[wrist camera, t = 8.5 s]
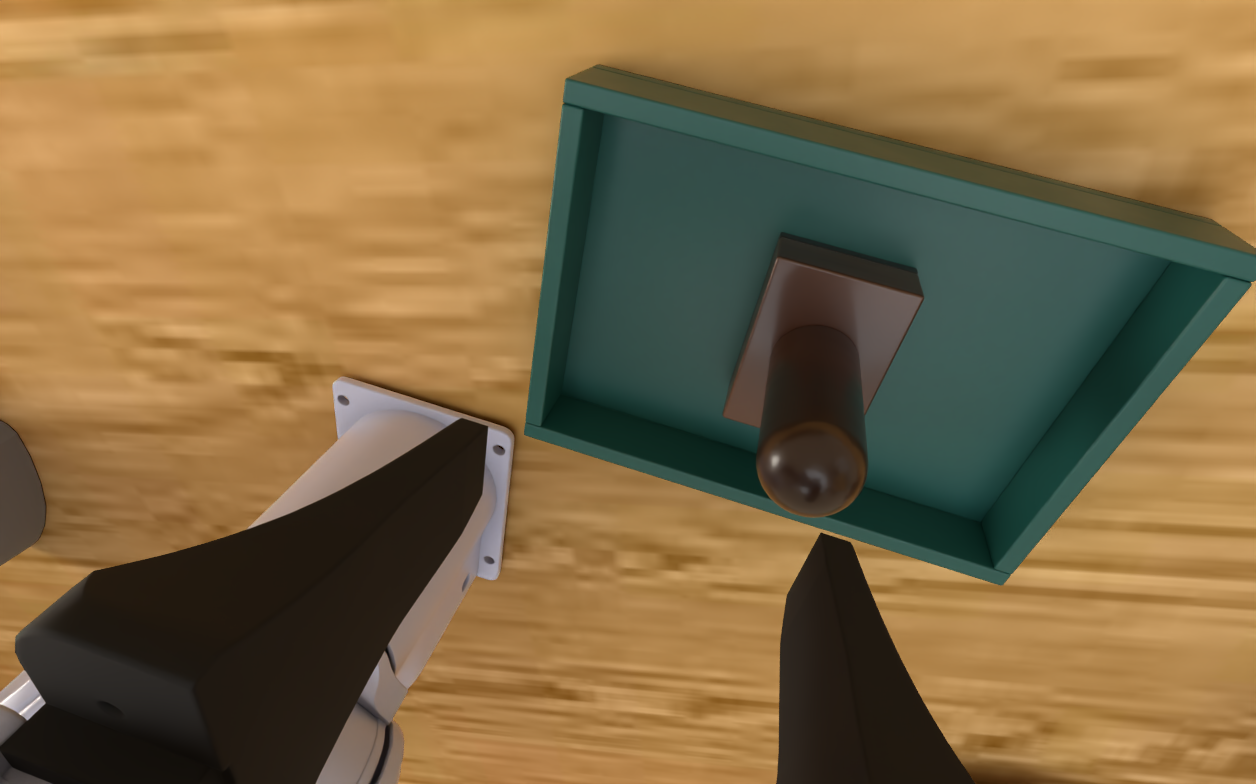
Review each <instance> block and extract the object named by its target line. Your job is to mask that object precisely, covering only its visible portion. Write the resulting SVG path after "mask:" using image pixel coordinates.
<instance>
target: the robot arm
mask: <svg viewBox="0 0 1256 784" xmlns="http://www.w3.org/2000/svg"><path fill="white" fill-rule="evenodd" d="M333 397H334V407H335V416H336V426H337V436H338V440H337V441H336V442H335V443H334V444H333V445H332V446H331V447H330V448H329V449H328V450H327V451H326V452H325V453H324V454H323V455H322V456H321V457H320V458H319V459H318V460H317V461H316V462H315V463H314V464H313V465H312V466H311V467H310V468H309V469H308V470H307V471H306V472H305V473H304V474H303V475H302V476H301V477H300V478H299V479H298V480H296V481H295V482H294V483H293V484H292V485H291V486H290V487H289V488H288V489H287V490H286V491H285V492H284V493H283V494H282V495H281V496H280V497H279V498H278V499H277V500H276V501H275V502H274V503H273V504H272V505H271V506H270V507H269V508H268V509H267V510H266V511H265V512H264V513H263V514H262V515H261V516H260V517H259V518H258V519H257V520H256V521H255V522H254V523H253V524H252V525H250V526H249V527H248V528H247V529H246V530H244V531H241V532H239V533H236V534H233V535H230V536H227V537H224V538H220V539H217V540H214V541H211V542H208V543H204V544H201V545H197V546H194V547H191V548H187V549H184V550H180V551H177V552H173V553H169V554H165V555H161V556H157V557H153V558H149V559H145V560H140V561H136V562H132V563H127V564H123V565H119V566H115V567H110V568H106V569H101V570H96V571H93V572H92V573H91V574H89V575H88V576H87V577H85V578H84V579H83V580H82V581H80V582H79V583H78V584H76V585H75V586H74V587H73V588H71V589H70V590H69V591H68V592H67V593H65V594H64V595H63V596H62V597H61V598H59V599H58V600H57V601H56V602H55V603H53V604H52V605H51V606H50V607H49V608H48V609H46V610H45V611H44V612H43V613H42V614H40V615H39V616H38V617H37V618H36V619H34V620H33V621H32V622H31V623H30V624H28V625H27V626H26V627H25V628H24V629H23V630H21V631H20V632H19V634H18V635H17V636H16V639H15V653H16V655H17V657H18V659H19V661H20V663H21V665H22V666H23V668H24V671H23V672H21V673H20V674H19V675H18V676H17V677H16V678H15V679H14V680H13V681H12V682H10V683H9V684H8V685H7V686H6V687H5V688H4V689H3V690H2V691H1V692H0V784H398V781H399V777H400V771H401V764H402V759H403V752H404V737H403V732H402V730H401V728H400V726H399V725H398V724H397V723H396V722H395V721H393V720H392V719H393V717H394V715H395V714H396V712H397V710H398V708H399V707H400V705H401V703H402V701H403V700H404V698H405V696H406V694H407V693H408V690H407V689H408V688H409V687H410V686H411V685H412V684H413V683H414V681H415V680H416V679H417V678H418V676H419V675H420V673H421V672H422V670H423V668H424V667H425V665H426V663H427V661H428V660H429V658H430V656H431V654H432V652H433V651H434V649H435V647H436V645H437V644H438V642H439V640H440V638H441V637H442V635H443V633H444V631H445V630H446V628H447V626H448V624H449V623H450V621H451V619H452V617H453V616H454V614H455V612H456V610H457V609H458V607H459V605H460V603H461V602H462V600H463V598H464V596H465V595H466V593H467V591H468V589H469V588H470V586H471V584H472V582H473V581H474V579H475V577H476V576H479V577H482V578H485V579H488V580H495V579H497V578H498V576H499V574H500V572H501V563H502V553H503V544H504V535H505V525H506V516H507V506H508V497H509V488H510V478H511V469H512V459H513V450H514V440H515V439H514V435H513V433H512V432H511V431H510V430H509V429H508V428H506V427H504V426H501V425H497V424H494V423H491V422H488V421H485V420H482V419H478V418H475V417H472V416H469V415H466V414H463V413H459V412H456V411H453V410H450V409H447V408H444V407H440V406H437V405H434V404H431V403H428V402H425V401H421V400H418V399H415V398H412V397H409V396H405V395H402V394H399V393H396V392H393V391H390V390H386V389H383V388H380V387H377V386H374V385H371V384H367V383H364V382H361V381H358V380H355V379H352V378H348V377H343V376H342V377H339V378H338V379H337V380H336V381H335V382H334V383H333ZM345 397H346V398H347V399H346V398H345ZM498 445H500V446H502V447H503V448H504V449H501V448H499V446H498ZM776 784H976V783H975V782H974V781H973V779H972V778H971V776H970V775H969V773H968V772H967V771H966V769H965V768H964V766H963V765H962V764H961V762H960V760H959V759H958V757H957V756H956V754H955V753H954V751H953V750H952V748H951V747H950V745H949V744H948V742H947V741H946V739H945V737H944V736H943V734H942V732H941V731H940V729H939V727H938V726H937V724H936V722H935V721H934V719H933V718H932V716H931V714H930V713H929V711H928V709H927V707H926V706H925V704H924V702H923V700H922V698H921V697H920V695H919V693H918V691H917V689H916V687H915V685H914V683H913V682H912V680H911V678H910V676H909V674H908V672H907V670H906V668H905V666H904V664H903V662H902V660H901V658H900V656H899V654H898V652H897V650H896V648H895V646H894V643H893V641H892V639H891V637H890V635H889V633H888V630H887V628H886V626H885V624H884V622H883V619H882V617H881V615H880V613H879V610H878V608H877V606H876V603H875V601H874V598H873V596H872V594H871V591H870V589H869V586H868V584H867V581H866V579H865V576H864V574H863V571H862V569H861V566H860V563H859V561H858V558H857V556H856V553H855V551H854V548H853V546H852V544H851V542H848V541H845V540H842V539H839V538H836V537H833V536H829V535H826V534H823V533H820V535H819V537H818V539H817V541H816V542H815V544H814V546H813V548H812V550H811V552H810V554H809V555H808V557H807V559H806V561H805V563H804V565H803V566H802V568H801V570H800V572H799V574H798V576H797V578H796V579H795V581H794V583H793V585H792V587H791V589H790V591H789V592H788V594H787V598H786V605H785V612H784V619H783V626H782V634H781V642H780V693H779V756H778V774H777V783H776Z"/></svg>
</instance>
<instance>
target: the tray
mask: <svg viewBox="0 0 1256 784" xmlns="http://www.w3.org/2000/svg"><path fill="white" fill-rule="evenodd" d="M563 102H564V104H563V105H562V112H561V121H560V129H559V138H558V147H557V155H556V164H555V172H554V181H553V189H552V198H551V207H550V215H549V224H548V232H547V241H546V249H545V258H544V267H543V275H542V284H541V292H540V301H539V309H538V318H537V327H536V335H535V344H534V352H533V361H532V369H531V378H530V387H529V395H528V404H527V412H526V423H525V429H524V435H526V436H529V437H532V438H535V439H538V440H542V441H545V442H548V443H551V444H554V445H557V446H561V447H564V448H567V449H570V450H573V451H576V452H580V453H583V454H586V455H589V456H592V457H595V458H599V459H602V460H605V461H608V462H611V463H614V464H618V465H621V466H624V467H627V468H630V469H633V470H637V471H640V472H643V473H646V474H649V475H652V476H656V477H659V478H662V479H665V480H668V481H671V482H675V483H678V484H681V485H684V486H687V487H690V488H694V489H697V490H700V491H703V492H706V493H709V494H713V495H716V496H719V497H722V498H725V499H728V500H732V501H735V502H738V503H741V504H744V505H747V506H751V507H754V508H757V509H760V510H763V511H766V512H770V513H773V514H776V515H779V516H782V517H785V518H789V519H792V520H795V521H798V522H801V523H804V524H808V525H811V526H814V527H817V528H820V529H823V530H827V531H830V532H833V533H836V534H839V535H842V536H846V537H849V538H852V539H855V540H858V541H861V542H865V543H868V544H871V545H874V546H877V547H880V548H884V549H887V550H890V551H893V552H896V553H899V554H903V555H906V556H909V557H912V558H915V559H918V560H922V561H925V562H928V563H931V564H934V565H937V566H941V567H944V568H947V569H950V570H953V571H956V572H960V573H963V574H966V575H969V576H972V577H975V578H979V579H982V580H985V581H988V582H991V583H994V584H998V585H1003V584H1004V583H1005V582H1006V581H1007V579H1008V578H1009V577H1010V575H1011V574H1012V573H1013V572H1014V571H1015V570H1016V569H1017V567H1018V566H1019V565H1020V564H1021V563H1022V561H1023V560H1024V559H1025V558H1026V556H1027V555H1028V554H1029V553H1030V552H1031V550H1032V549H1033V548H1034V547H1035V546H1036V544H1037V543H1038V542H1039V541H1040V540H1041V538H1042V537H1043V536H1044V535H1045V534H1046V532H1047V531H1048V530H1049V529H1050V528H1051V526H1052V525H1053V524H1054V523H1055V522H1056V520H1057V519H1058V518H1059V517H1060V516H1061V514H1062V513H1063V512H1064V511H1065V510H1066V508H1067V507H1068V506H1069V505H1070V504H1071V502H1072V501H1073V500H1074V499H1075V497H1076V496H1077V495H1078V494H1079V493H1080V491H1081V490H1082V489H1083V488H1084V487H1085V485H1086V484H1087V483H1088V482H1089V481H1090V479H1091V478H1092V477H1093V476H1094V475H1095V473H1096V472H1097V471H1098V470H1099V469H1100V467H1101V466H1102V465H1103V464H1104V463H1105V461H1106V460H1107V459H1108V458H1109V457H1110V455H1111V454H1112V453H1113V452H1114V451H1115V449H1116V448H1117V447H1118V446H1119V444H1120V443H1121V442H1122V441H1123V440H1124V438H1125V437H1126V436H1127V435H1128V434H1129V432H1130V431H1131V430H1132V429H1133V428H1134V426H1135V425H1136V424H1137V423H1138V422H1139V420H1140V419H1141V418H1142V417H1143V416H1144V414H1145V413H1146V412H1147V411H1148V410H1149V408H1150V407H1151V406H1152V405H1153V404H1154V402H1155V401H1156V400H1157V399H1158V398H1159V396H1160V395H1161V394H1162V393H1163V391H1164V390H1165V389H1166V388H1167V387H1168V385H1169V384H1170V383H1171V382H1172V381H1173V379H1174V378H1175V377H1176V376H1177V375H1178V373H1179V372H1180V371H1181V370H1182V369H1183V367H1184V366H1185V365H1186V364H1187V363H1188V361H1189V360H1190V359H1191V358H1192V357H1193V355H1194V354H1195V353H1196V352H1197V351H1198V349H1199V348H1200V347H1201V346H1202V345H1203V343H1204V342H1205V341H1206V340H1207V339H1208V337H1209V336H1210V335H1211V334H1212V332H1213V331H1214V330H1215V329H1216V328H1217V326H1218V325H1219V324H1220V323H1221V322H1222V320H1223V319H1224V318H1225V317H1226V316H1227V314H1228V313H1229V312H1230V311H1231V310H1232V308H1233V307H1234V306H1235V305H1236V304H1237V302H1238V301H1239V300H1240V299H1241V298H1242V296H1243V295H1244V294H1245V293H1246V292H1247V290H1248V289H1249V288H1250V287H1251V285H1252V283H1251V282H1254V281H1256V248H1254V247H1253V246H1251V245H1250V244H1248V243H1247V242H1245V241H1244V240H1242V239H1241V238H1239V237H1238V236H1236V235H1235V234H1233V233H1232V232H1230V231H1229V230H1227V229H1226V228H1224V227H1222V226H1221V225H1220V224H1218V223H1217V222H1215V221H1214V220H1212V219H1208V218H1204V217H1200V216H1196V215H1192V214H1188V213H1184V212H1180V211H1176V210H1172V209H1168V208H1164V207H1160V206H1156V205H1153V204H1149V203H1145V202H1141V201H1137V200H1133V199H1129V198H1125V197H1121V196H1117V195H1113V194H1109V193H1105V192H1101V191H1097V190H1093V189H1089V188H1085V187H1081V186H1077V185H1073V184H1069V183H1065V182H1062V181H1058V180H1054V179H1050V178H1046V177H1042V176H1038V175H1034V174H1030V173H1026V172H1022V171H1018V170H1014V169H1010V168H1006V167H1002V166H998V165H994V164H990V163H986V162H982V161H978V160H974V159H971V158H967V157H963V156H959V155H955V154H951V153H947V152H943V151H939V150H935V149H931V148H927V147H923V146H919V145H915V144H911V143H907V142H903V141H899V140H895V139H891V138H887V137H883V136H879V135H876V134H872V133H868V132H864V131H860V130H856V129H852V128H848V127H844V126H840V125H836V124H832V123H828V122H824V121H820V120H816V119H812V118H808V117H804V116H800V115H796V114H792V113H788V112H785V111H781V110H777V109H773V108H769V107H765V106H761V105H757V104H753V103H749V102H745V101H741V100H737V99H733V98H729V97H725V96H721V95H717V94H713V93H709V92H705V91H701V90H697V89H694V88H690V87H686V86H682V85H678V84H674V83H670V82H666V81H662V80H658V79H654V78H650V77H646V76H642V75H638V74H634V73H630V72H626V71H622V70H618V69H614V68H610V67H606V66H603V65H595V66H593V67H591V68H589V69H586V70H584V71H582V72H580V73H578V74H575V75H573V76H571V77H569V78H566V80H565V87H564V95H563ZM781 232H784V233H787V234H791V235H795V236H798V237H802V238H806V239H810V240H813V241H817V242H821V243H824V244H828V245H832V246H835V247H839V248H843V249H846V250H850V251H854V252H857V253H861V254H865V255H868V256H872V257H876V258H880V259H883V260H887V261H891V262H894V263H898V264H902V265H905V266H909V267H913V268H916V269H917V271H918V277H919V280H920V284H921V287H922V290H923V294H924V300H923V302H922V304H921V306H920V308H919V310H918V312H917V314H916V316H915V318H914V320H913V322H912V324H911V326H910V328H909V330H908V332H907V334H906V336H905V338H904V340H903V342H902V344H901V346H900V348H899V350H898V352H897V354H896V356H895V358H894V360H893V361H892V363H891V365H890V367H889V369H888V371H887V373H886V375H885V377H884V379H883V381H882V383H881V385H880V387H879V389H878V391H877V393H876V395H875V397H874V399H873V401H872V403H871V405H870V407H869V409H868V411H867V413H866V415H865V428H866V440H867V451H868V474H867V478H866V482H865V485H864V487H863V489H862V491H861V492H860V494H859V495H858V497H857V498H856V499H855V500H854V501H853V502H852V503H851V504H850V505H849V506H848V507H846V508H844V509H843V510H841V511H840V512H837V513H835V514H832V515H829V516H825V517H815V518H812V517H803V516H799V515H795V514H793V513H790V512H788V511H786V510H784V509H783V508H781V507H780V506H778V505H777V504H776V503H775V502H774V501H773V500H772V499H771V498H770V497H769V496H768V495H767V493H766V492H765V491H764V489H763V487H762V485H761V483H760V480H759V478H758V473H757V468H756V455H757V448H758V440H759V433H760V428H757V427H754V426H750V425H747V424H744V423H740V422H737V421H734V420H731V419H727V418H724V417H723V409H724V405H725V401H726V396H727V392H728V387H729V383H730V380H731V377H732V374H733V371H734V368H735V365H736V363H737V360H738V357H739V354H740V351H741V348H742V345H743V342H744V339H745V336H746V333H747V330H748V327H749V324H750V321H751V318H752V315H753V312H754V309H755V306H756V304H757V301H758V298H759V295H760V292H761V289H762V286H763V283H764V280H765V277H766V274H767V271H768V268H769V265H770V262H771V259H772V256H773V253H774V250H775V247H776V245H777V242H778V239H779V236H780V233H781Z"/></svg>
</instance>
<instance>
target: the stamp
mask: <svg viewBox="0 0 1256 784" xmlns="http://www.w3.org/2000/svg"><path fill="white" fill-rule="evenodd" d="M923 300H924V294H923V290H922V287H921V284H920V280H919V277H918V271H917V269H916V268H913V267H909V266H905V265H902V264H898V263H894V262H891V261H887V260H883V259H880V258H876V257H872V256H868V255H865V254H861V253H857V252H854V251H850V250H846V249H843V248H839V247H835V246H832V245H828V244H824V243H821V242H817V241H813V240H810V239H806V238H802V237H798V236H795V235H791V234H787V233H784V232H781V233H780V236H779V239H778V242H777V245H776V247H775V250H774V253H773V256H772V259H771V262H770V265H769V268H768V271H767V274H766V277H765V280H764V283H763V286H762V289H761V292H760V295H759V298H758V301H757V304H756V306H755V309H754V312H753V315H752V318H751V321H750V324H749V327H748V330H747V333H746V336H745V339H744V342H743V345H742V348H741V351H740V354H739V357H738V360H737V363H736V365H735V368H734V371H733V374H732V377H731V380H730V383H729V387H728V392H727V396H726V401H725V405H724V409H723V417H724V418H727V419H731V420H734V421H737V422H740V423H744V424H747V425H750V426H754V427H757V428H760V433H759V440H758V448H757V455H756V468H757V473H758V478H759V480H760V483H761V485H762V487H763V489H764V491H765V492H766V493H767V495H768V496H769V497H770V498H771V499H772V500H773V501H774V502H775V503H776V504H777V505H778V506H780V507H781V508H783V509H784V510H786V511H788V512H790V513H793V514H795V515H799V516H803V517H812V518H815V517H825V516H829V515H832V514H835V513H837V512H840V511H841V510H843V509H844V508H846V507H848V506H849V505H850V504H851V503H852V502H853V501H854V500H855V499H856V498H857V497H858V495H859V494H860V492H861V491H862V489H863V487H864V485H865V482H866V478H867V474H868V451H867V440H866V428H865V415H866V413H867V411H868V409H869V407H870V405H871V403H872V401H873V399H874V397H875V395H876V393H877V391H878V389H879V387H880V385H881V383H882V381H883V379H884V377H885V375H886V373H887V371H888V369H889V367H890V365H891V363H892V361H893V360H894V358H895V356H896V354H897V352H898V350H899V348H900V346H901V344H902V342H903V340H904V338H905V336H906V334H907V332H908V330H909V328H910V326H911V324H912V322H913V320H914V318H915V316H916V314H917V312H918V310H919V308H920V306H921V304H922V302H923Z"/></svg>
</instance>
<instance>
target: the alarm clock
mask: <svg viewBox="0 0 1256 784" xmlns="http://www.w3.org/2000/svg"><path fill="white" fill-rule="evenodd" d="M45 511H46V505H45V501H44V496H43V492H42V487H41V483H40V480H39V478H38V475H37V473H36V470H35V468H34V465H33V463H32V460H31V458H30V455H29V454H28V452H27V450H26V448H25V447H24V445H23V443H22V441H21V440H20V438H19V436H18V434H17V433H16V432H15V431H14V430H13V429H12V428H11V427H10V426H8V425H7V424H6V423H4V422H2V421H0V566H1V565H2V564H4V563H5V562H7V561H9V560H10V559H12V558H13V557H15V556H16V555H18V554H19V553H21V552H22V551H24V550H26V549H27V548H29V547H30V546H31V545H33V544H34V543H35V542H36V541H37V540H38V539H39V537H40V535H41V533H42V530H43V528H44V525H45Z"/></svg>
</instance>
